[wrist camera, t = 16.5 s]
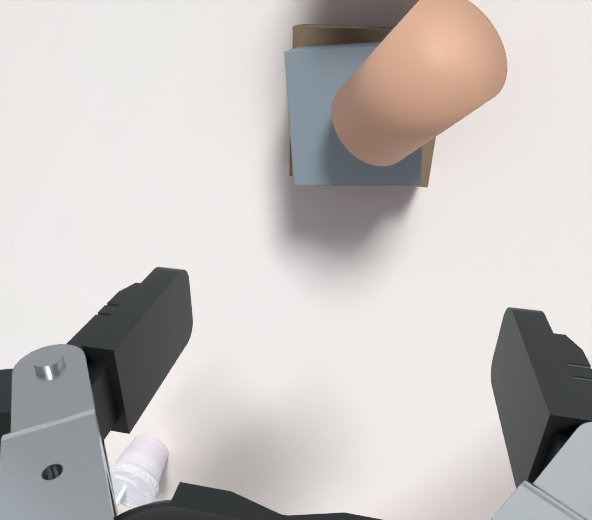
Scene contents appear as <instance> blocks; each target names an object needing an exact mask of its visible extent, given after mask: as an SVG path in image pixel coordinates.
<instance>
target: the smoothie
mask: <svg viewBox="0 0 592 520" xmlns="http://www.w3.org/2000/svg"><path fill="white" fill-rule="evenodd" d="M167 458H168V449H167V447H166V446H165V444H164V443H163V442H162V441H160V440H159V439H157V438H155V437H153V436H150V435H140V436H137V437H136V438H134V440H133V441H132V442H131V444H130V445H129V446H128V447H127V449H126V450H125V451H124V452H123V454H122V455H121V456H120V457H119V459H118V460H117V461H116V463H115V464H113V465H111V466H110V467H109V468H110V473H111V479H112V484H113V489H114V495H115V500H116V505H117V506H118V504H119V503H121V504H123V505H126V506H129V507H134V508H136V507H138V506H142V505H145V504H149V503H152V502H154V500H155V498H156V497H157V495H158V493H159V486H158V484H159V482H160V479H161V476H162V473H163V470H164V467H165V464H166V461H167Z"/></svg>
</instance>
